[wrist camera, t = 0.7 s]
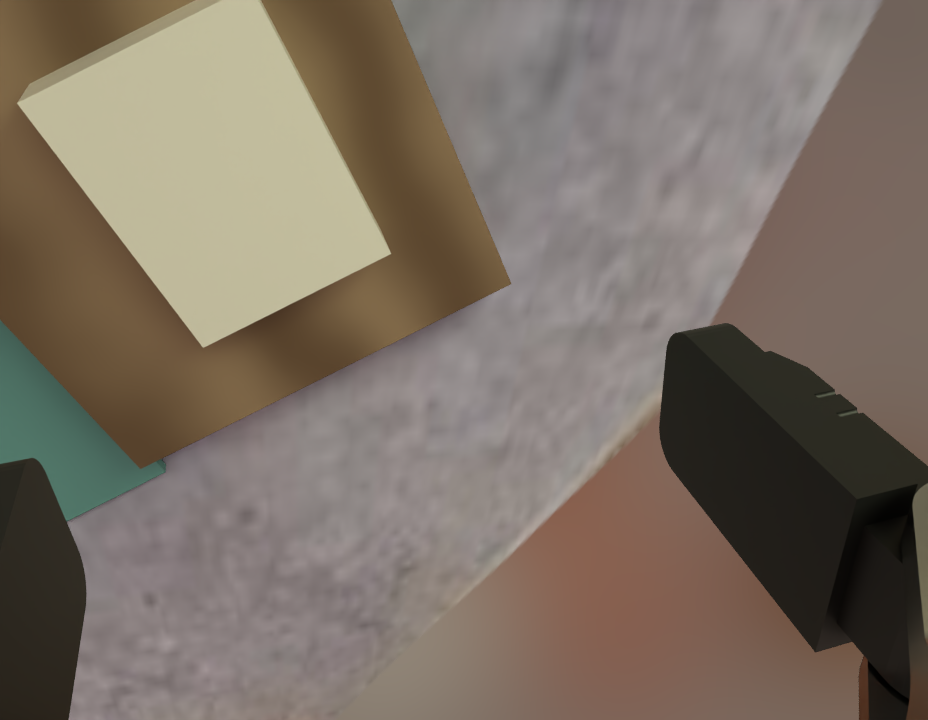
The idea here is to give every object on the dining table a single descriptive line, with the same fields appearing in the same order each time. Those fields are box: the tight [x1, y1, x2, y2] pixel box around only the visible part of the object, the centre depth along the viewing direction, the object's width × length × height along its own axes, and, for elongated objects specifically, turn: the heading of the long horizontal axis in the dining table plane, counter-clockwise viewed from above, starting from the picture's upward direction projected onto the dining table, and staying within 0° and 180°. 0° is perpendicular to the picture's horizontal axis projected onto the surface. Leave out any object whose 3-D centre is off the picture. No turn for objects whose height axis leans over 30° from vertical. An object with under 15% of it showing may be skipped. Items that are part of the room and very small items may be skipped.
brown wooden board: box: [0, 0, 511, 469], centre depth 27 cm, size 16×18×2 cm
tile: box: [17, 0, 391, 348], centre depth 25 cm, size 7×9×2 cm
